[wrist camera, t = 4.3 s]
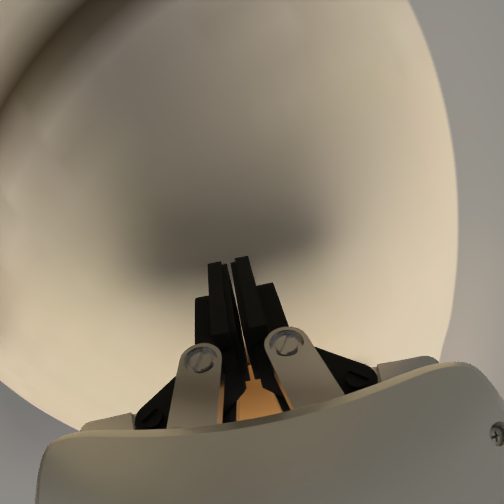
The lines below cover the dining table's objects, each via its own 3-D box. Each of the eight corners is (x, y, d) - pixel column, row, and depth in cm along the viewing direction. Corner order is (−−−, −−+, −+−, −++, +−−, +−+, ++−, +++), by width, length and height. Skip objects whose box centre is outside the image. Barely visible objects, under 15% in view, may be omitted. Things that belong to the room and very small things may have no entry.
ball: (230, 446, 16) (213, 372, 19) (311, 430, 17) (294, 355, 19) (219, 473, 11) (195, 372, 13) (331, 450, 11) (307, 349, 14)
